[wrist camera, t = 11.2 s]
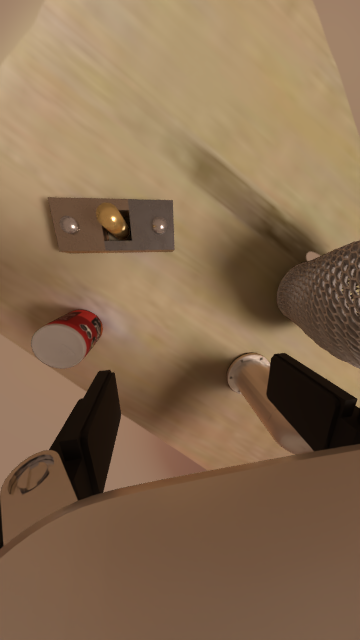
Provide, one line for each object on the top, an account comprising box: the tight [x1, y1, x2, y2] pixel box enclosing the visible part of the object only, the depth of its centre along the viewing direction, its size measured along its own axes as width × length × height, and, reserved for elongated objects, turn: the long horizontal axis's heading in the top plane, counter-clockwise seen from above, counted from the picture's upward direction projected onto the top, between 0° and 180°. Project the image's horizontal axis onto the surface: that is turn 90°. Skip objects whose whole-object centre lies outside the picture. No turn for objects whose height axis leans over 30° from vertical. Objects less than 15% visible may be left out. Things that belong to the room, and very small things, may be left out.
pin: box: [96, 203, 130, 240], centre depth 29 cm, size 3×3×10 cm
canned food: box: [31, 310, 103, 369], centre depth 32 cm, size 8×8×11 cm
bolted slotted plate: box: [48, 197, 174, 253], centre depth 31 cm, size 20×8×5 cm, turn 92°
